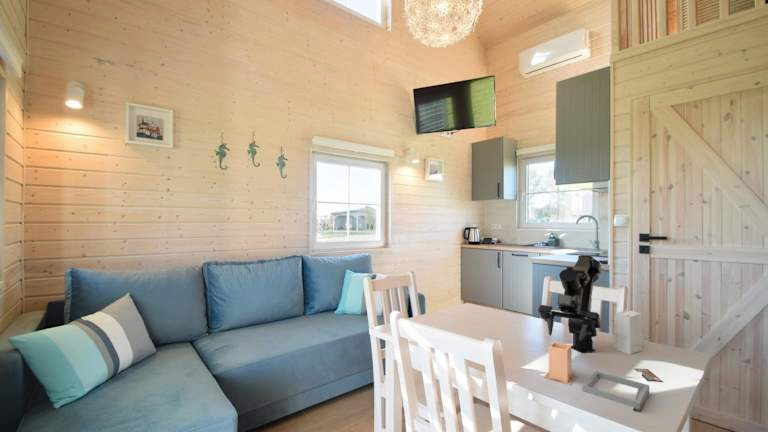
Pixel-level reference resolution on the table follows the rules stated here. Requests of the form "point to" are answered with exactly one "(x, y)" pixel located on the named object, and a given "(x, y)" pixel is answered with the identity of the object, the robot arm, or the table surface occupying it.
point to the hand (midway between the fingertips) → (564, 337)
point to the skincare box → (628, 331)
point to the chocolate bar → (648, 375)
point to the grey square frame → (637, 404)
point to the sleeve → (560, 361)
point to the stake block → (562, 381)
